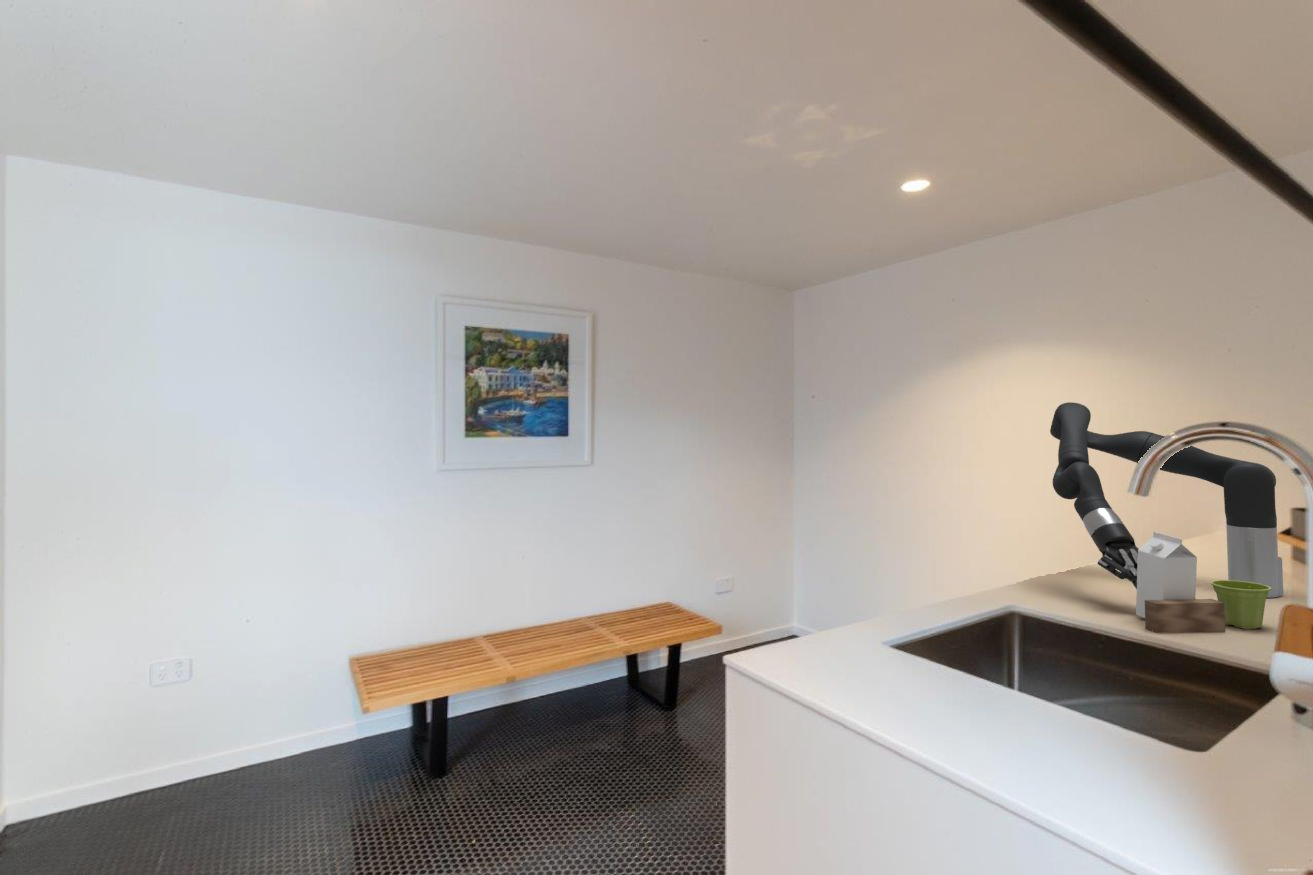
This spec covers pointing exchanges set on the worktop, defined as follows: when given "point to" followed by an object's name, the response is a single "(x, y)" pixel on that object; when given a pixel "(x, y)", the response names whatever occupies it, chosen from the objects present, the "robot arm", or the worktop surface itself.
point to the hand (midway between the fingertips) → (1147, 593)
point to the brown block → (1185, 615)
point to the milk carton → (1164, 571)
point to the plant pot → (1242, 602)
